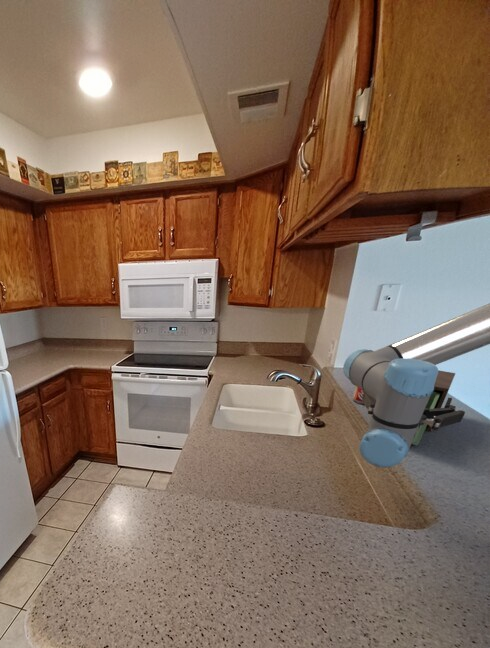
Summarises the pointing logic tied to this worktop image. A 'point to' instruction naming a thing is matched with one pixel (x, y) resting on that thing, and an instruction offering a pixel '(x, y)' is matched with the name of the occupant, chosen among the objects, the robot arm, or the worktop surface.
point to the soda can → (358, 395)
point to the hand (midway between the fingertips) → (415, 396)
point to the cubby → (441, 389)
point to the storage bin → (417, 438)
